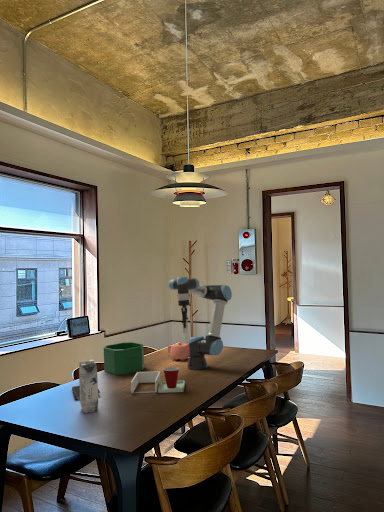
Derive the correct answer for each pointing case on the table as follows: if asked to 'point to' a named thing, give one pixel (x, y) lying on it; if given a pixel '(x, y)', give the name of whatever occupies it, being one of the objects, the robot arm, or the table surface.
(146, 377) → the frame
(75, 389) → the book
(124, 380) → the table surface
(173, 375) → the plastic cup
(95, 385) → the juice carton
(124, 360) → the planter
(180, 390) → the tray
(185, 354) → the teapot
